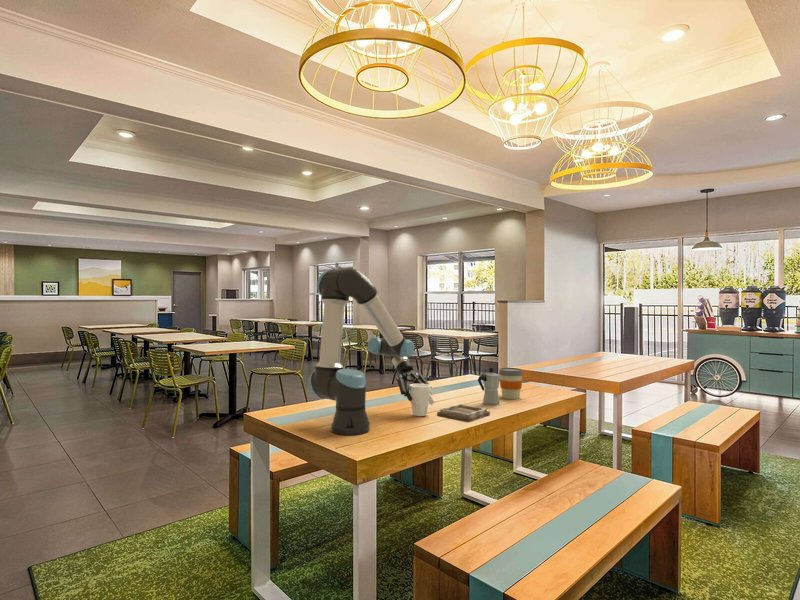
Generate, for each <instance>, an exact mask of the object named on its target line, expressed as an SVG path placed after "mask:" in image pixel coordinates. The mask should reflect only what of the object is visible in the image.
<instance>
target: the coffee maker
mask: <svg viewBox="0 0 800 600" xmlns="http://www.w3.org/2000/svg"><path fill="white" fill-rule="evenodd" d="M488 370H489V372H486V373H482V374H481V375H479V376H478V379H477V382H478V384H479V386H480V388H481V390H482V391H484V395H483V400H482V401H483V402H482V404H483V405H487V406H499V405H500V398H499V390H498V389H499V388H500V387H499V386H500V374H499V373H495V372H494V367H488ZM482 382H483V383H482Z"/></svg>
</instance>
